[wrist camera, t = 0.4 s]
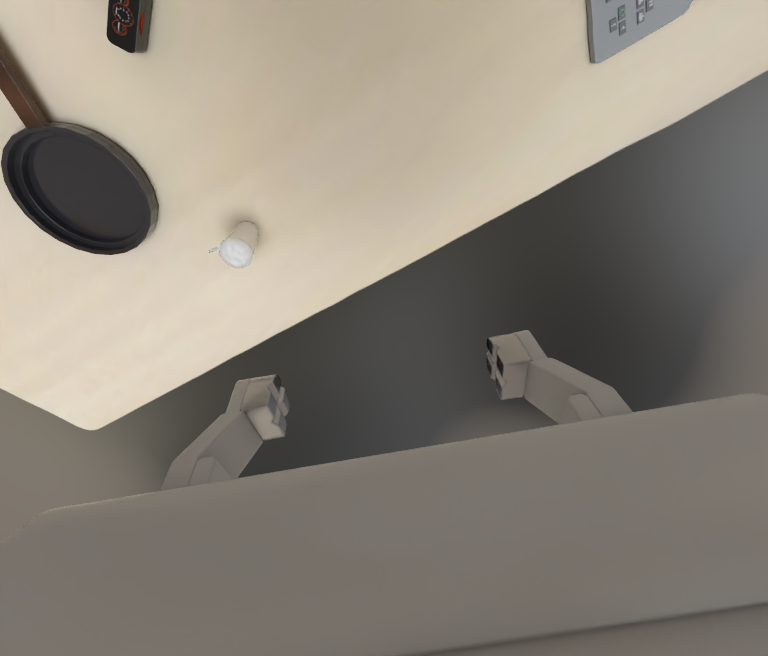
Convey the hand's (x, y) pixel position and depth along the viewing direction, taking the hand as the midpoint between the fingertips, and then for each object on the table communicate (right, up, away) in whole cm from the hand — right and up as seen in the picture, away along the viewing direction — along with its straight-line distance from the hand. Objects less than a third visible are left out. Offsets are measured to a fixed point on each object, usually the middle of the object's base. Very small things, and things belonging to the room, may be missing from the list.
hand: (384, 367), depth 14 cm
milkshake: (-22, +17, +43) cm, 51 cm away
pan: (-42, +21, +37) cm, 60 cm away
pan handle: (-43, +31, +27) cm, 60 cm away
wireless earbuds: (-28, +38, +26) cm, 54 cm away
